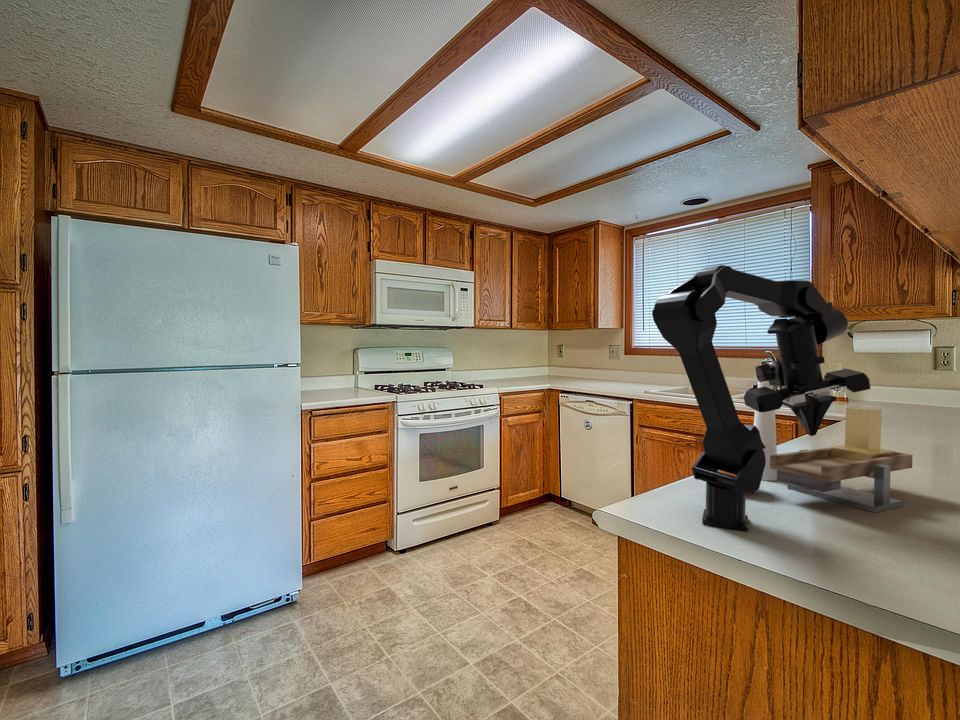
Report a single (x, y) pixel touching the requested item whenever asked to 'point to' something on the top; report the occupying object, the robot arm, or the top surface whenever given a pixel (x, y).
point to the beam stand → (861, 493)
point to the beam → (829, 468)
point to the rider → (861, 436)
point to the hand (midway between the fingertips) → (811, 435)
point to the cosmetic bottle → (767, 436)
